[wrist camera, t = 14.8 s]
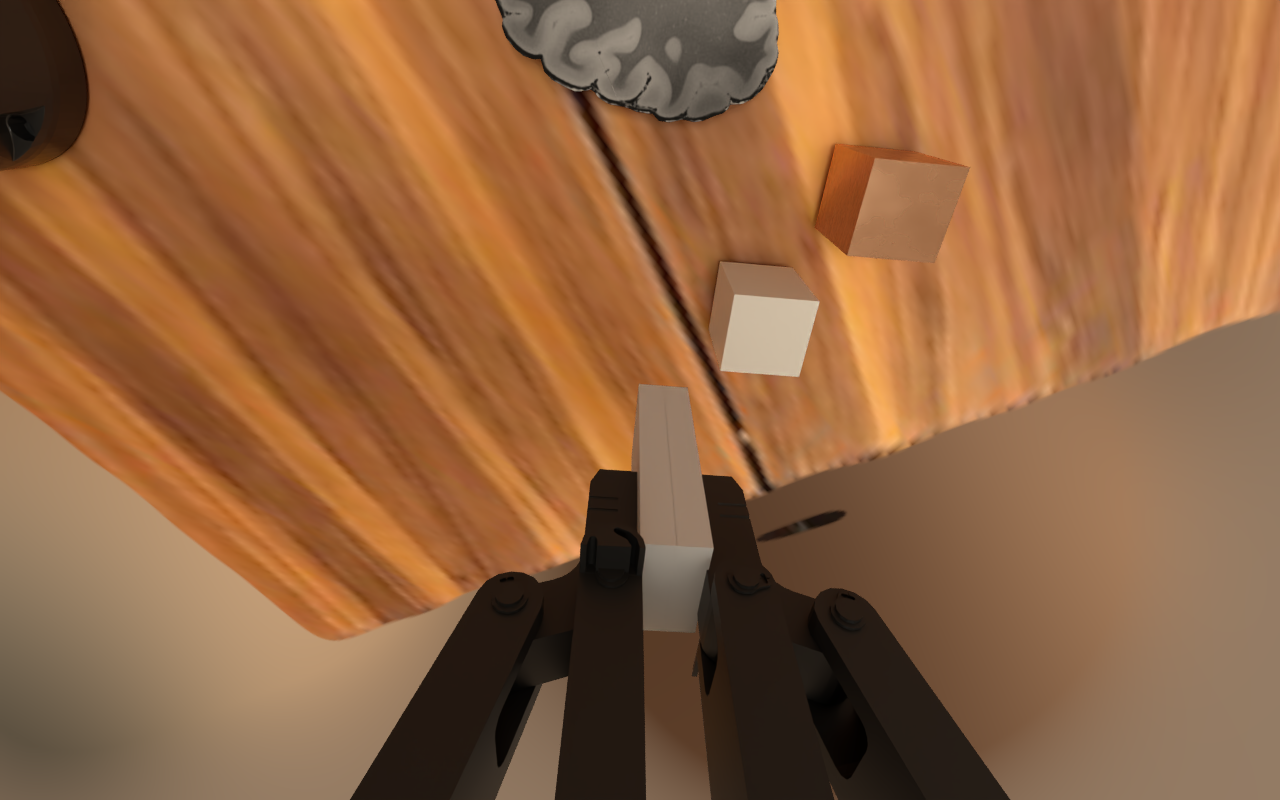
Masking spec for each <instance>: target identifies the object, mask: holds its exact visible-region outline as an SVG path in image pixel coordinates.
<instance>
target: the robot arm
mask: <svg viewBox="0 0 1280 800" xmlns="http://www.w3.org/2000/svg"><path fill="white" fill-rule="evenodd" d="M86 99H87V92H86V80H85V73H84V68H83V64H82V60H81V56H80V53H79V50H78V47H77V44H76V41H75V38H74V36H73V34H72V31H71V29H70V27H69V24H68V22H67V20H66V18H65V16H64V14H63V12H62V10H61V9H60V7H59V5H58V3H57V1H56V0H0V171H1V170H8V169H15V168H21V167H28V166H34V165H38V164H42V163H45V162H48V161H50V160H52V159H54V158H56V157H57V156H59V155H60V154H62V153H63V152H64V151H65V150H66V149H67V148H68V147H69V146H70V145H71V144H72V143H73V142H74V140H75V139H76V137H77V135H78V133H79V131H80V129H81V127H82V124H83V120H84V116H85V111H86ZM697 621H698V625H699V633H700V639H699V644H698V648H697V653H696V657H695V661H694V665H693V672H692V676H697V674H698V672H699V682H700V692H701V702H702V712H703V721H704V731H705V741H706V751H707V761H708V771H709V781H710V791H711V800H834V797H833V793H832V790H831V786H830V783H831V785H832V787H833V789H834V791H835V794H836V795H837V798H838V800H1010V799H1009V798H1008V796H1007V794H1006V793H1005V792H1004V791H1003V789H1002V787H1001V786H1000V785H999V783H998V782H997V780H996V779H995V778H994V776H993V775H992V773H991V772H990V771H989V769H988V768H987V766H986V765H985V764H984V762H983V761H982V759H981V758H980V757H979V755H978V754H977V752H976V751H975V750H974V748H973V747H972V745H971V744H970V742H969V741H968V740H967V738H966V737H965V736H964V734H963V733H962V731H961V730H960V728H959V727H958V726H957V724H956V723H955V721H954V720H953V719H952V717H951V716H950V714H949V713H948V712H947V710H946V709H945V707H944V706H943V704H942V703H941V702H940V700H939V699H938V697H937V696H936V695H935V693H934V692H933V690H932V689H931V688H930V686H929V685H928V683H927V682H926V681H925V679H924V678H923V676H922V675H921V674H920V672H919V671H918V670H917V668H916V667H915V665H914V664H913V662H912V661H911V660H910V658H909V657H908V655H907V654H906V653H905V651H904V650H903V648H902V647H901V646H900V644H899V643H898V641H897V640H896V638H895V637H894V636H893V634H892V633H891V631H890V630H889V629H888V627H887V626H886V624H885V623H884V622H883V620H882V619H881V617H880V616H879V615H878V613H877V612H876V610H875V609H874V608H873V607H872V606H871V605H870V604H869V603H868V602H867V601H866V600H865V599H864V598H862V597H860V596H859V595H857V594H855V593H854V592H851V591H847V590H844V589H836V588H835V589H834V588H830V589H827V590H825V591H822V592H820V594H819V595H818V596H817V597H816V599H814V598H811V597H808V596H805V595H802V594H799V593H796V592H793V591H791V590H789V589H786V588H784V587H782V586H781V585H779V584H778V583H776V582H775V581H774V579H773V577H772V575H771V573H770V572H769V571H768V570H767V569H766V568H765V567H763V566H762V563H761V560H760V557H759V553H758V549H757V545H756V541H755V537H754V533H753V529H752V525H751V521H750V519H749V513H748V510H747V507H746V501H745V498H744V494H743V490H742V489H741V487H740V486H739V485H738V484H737V483H736V481H735V480H734V479H733V478H732V477H728V476H713V475H702V474H701V467H700V461H699V455H698V449H697V443H696V437H695V431H694V424H693V418H692V412H691V406H690V400H689V394H688V388H685V387H672V386H658V385H645V384H639V388H638V398H637V408H636V418H635V428H634V438H633V448H632V471H618V470H603V469H600V470H599V471H598V472H597V474H596V475H595V476H594V478H593V479H592V480H591V483H590V492H589V501H588V511H587V519H586V528H585V535H584V537H583V540H582V542H581V549H580V562H579V564H578V565H577V566H576V567H575V568H574V569H573V570H572V571H571V572H570V573H568V574H567V575H564V576H563V577H560V578H557V579H554V580H550V581H545V582H542V583H538V582H537V580H536V579H535V578H534V577H532V576H529V575H527V574H525V573H521V572H507V573H502V574H498V575H496V576H494V577H493V578H491V579H489V580H487V581H486V582H485V583H484V584H483V585H482V587H481V588H480V589H479V590H478V592H477V593H476V595H475V597H474V598H473V600H472V601H471V603H470V605H469V606H468V608H467V610H466V611H465V613H464V614H463V616H462V618H461V619H460V621H459V623H458V624H457V626H456V628H455V630H454V631H453V633H452V634H451V636H450V637H449V639H448V641H447V642H446V644H445V646H444V647H443V649H442V650H441V652H440V654H439V655H438V657H437V659H436V660H435V662H434V664H433V665H432V667H431V669H430V670H429V672H428V673H427V675H426V677H425V678H424V680H423V681H422V683H421V685H420V686H419V688H418V690H417V691H416V693H415V695H414V696H413V698H412V699H411V701H410V703H409V704H408V706H407V708H406V709H405V711H404V713H403V714H402V716H401V718H400V719H399V721H398V722H397V724H396V726H395V728H394V729H393V730H392V732H391V734H390V735H389V737H388V739H387V741H386V742H385V744H384V745H383V747H382V749H381V750H380V752H379V753H378V755H377V757H376V758H375V760H374V761H373V763H372V765H371V766H370V768H369V770H368V771H367V773H366V775H365V776H364V778H363V780H362V781H361V783H360V785H359V786H358V788H357V789H356V791H355V793H354V794H353V796H352V797H351V799H350V800H495V798H496V796H497V793H498V791H499V788H500V786H501V784H502V781H503V779H504V776H505V774H506V771H507V769H508V767H509V764H510V762H511V759H512V757H513V754H514V752H515V749H516V747H517V745H518V742H519V740H520V737H521V735H522V732H523V730H524V727H525V724H526V723H527V720H528V718H529V715H530V713H531V710H532V708H533V705H534V703H535V701H536V698H537V696H538V693H539V691H540V688H541V686H542V684H543V683H546V682H549V681H553V680H556V679H560V678H563V677H567V676H568V682H567V693H566V701H565V710H564V719H563V729H562V738H561V747H560V756H559V765H558V774H557V784H556V793H555V800H646V777H645V775H646V774H645V713H644V655H643V654H644V651H643V630H651V631H671V632H690V633H692V632H693V633H695V630H696V625H697ZM829 781H830V782H829Z"/></svg>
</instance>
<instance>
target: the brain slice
mask: <svg viewBox="0 0 1280 800" xmlns="http://www.w3.org/2000/svg"><path fill="white" fill-rule="evenodd" d="M495 1H496V3H497V5H498V8H499V10H500V13H501V15H502V18H503V22H502V28H503V31H504V33H505V36H506V38H507V39H508V41H509V42H510V43H511V44H512V45H513V47H514V48H515V49H516V50H517V51H518V52H520V53H521V54H522V55H523V56H526V57H529V58H531V59H541V62H542V65H543V69H544V72H545V73H546V74H547V75H548V76H549V77H550V78H551V79H552V80H554V81H555V82H557V83H559V84H561V85H562V86H564V87H566V88H569V89H571V90H573V91H586V90H592V91H594V92H595V93H596V95H597V96H598V97H599V98H600V99H602V100H603V101H605V102H607V103H608V104H612V105H617V106H622V107H627V108H629V109H632V110H634V111H636V112H642V113H650V114H653V115H654V116H655V117H656V118H657V119H658V120H659V121H665V122H673V121H678V120H682V119H683V120H688V121H692V122H698V121H703V120H706V119H708V118H710V117H713V116H716V115H719V114H722V113H724V112H725V111H726V110H727V109H728V108H729V106H730V105H733V104H743V103H745V102H747V101H749V100H751V99H752V98H753V97H754V96H756V95H757V94H758V93H759V92H760V91H761V90H762V89H763V87H764V86H765V84H766V83H767V81H768V79H769V78H770V76H771V74H772V73H773V71H774V68H775V65H776V63H777V58H778V47H777V40H778V34H779V31H778V20H777V16H776V0H495Z"/></svg>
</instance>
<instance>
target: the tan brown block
mask: <svg viewBox="0 0 1280 800" xmlns="http://www.w3.org/2000/svg"><path fill="white" fill-rule="evenodd" d="M969 169H970V167H967V166H964V165H960V164H957V163H953V162H950V161H946V160H943V159H939V158H936V157H932V156H929V155H926V154H922V153H919V152H914V151H904V150H894V149H884V148H874V147H864V146H853V145H843V144H836V145H835V149H834V153H833V157H832V161H831V165H830V169H829V173H828V177H827V181H826V185H825V189H824V193H823V197H822V201H821V205H820V209H819V213H818V217H817V221H816V225H815V228H816V229H817V230H819V231H820V232H821V233H822V234H823V235H824V236H825V237H826V238H828V239H829V240H830V241H831V242H832V243H833V244H834V245H836V246H837V247H838V248H839V249H840V250H841V251H842V252H844V253H845V254H846V255H847V256H858V257H869V258H880V259H892V260H903V261H915V262H926V263H935V260H936V258H937V255H938V252H939V249H940V247H941V244H942V241H943V239H944V236H945V233H946V231H947V228H948V225H949V223H950V220H951V217H952V215H953V212H954V209H955V207H956V204H957V201H958V199H959V196H960V193H961V191H962V188H963V185H964V183H965V180H966V177H967V175H968V172H969Z"/></svg>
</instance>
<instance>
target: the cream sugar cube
mask: <svg viewBox="0 0 1280 800" xmlns="http://www.w3.org/2000/svg"><path fill="white" fill-rule="evenodd" d="M819 302H820V301H819V300H818V299H817V298H816V296H815V295H814V294H813V293H812V291H811V290H810V289H809V288H808V286H807V285H806V284H805V283H804V281H803V280H802V279H801V277H800V276H799V275H798V274H797V272H796V271H795V270H794V269H793V268H791V267H780V266H768V265H756V264H745V263H733V262H722V261H720V264H719V270H718V276H717V282H716V288H715V294H714V300H713V306H712V312H711V318H710V324H709V333H710V336H711V340H712V343H713V347H714V350H715V354H716V357H717V361H718V365H719V368H720V371H729V372H742V373H755V374H768V375H782V376H795V377H799V375H800V371H801V368H802V364H803V360H804V357H805V353H806V349H807V346H808V342H809V338H810V335H811V331H812V327H813V324H814V320H815V316H816V313H817V309H818V305H819Z"/></svg>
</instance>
